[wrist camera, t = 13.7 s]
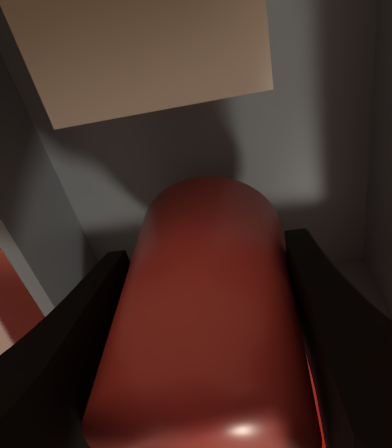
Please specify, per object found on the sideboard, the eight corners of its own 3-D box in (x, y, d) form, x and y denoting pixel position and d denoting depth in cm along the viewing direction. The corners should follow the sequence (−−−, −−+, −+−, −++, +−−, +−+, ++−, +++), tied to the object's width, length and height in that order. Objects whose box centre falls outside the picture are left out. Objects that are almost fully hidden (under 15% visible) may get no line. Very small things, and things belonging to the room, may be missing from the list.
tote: (370, 252, 17) (413, 340, 13) (106, 280, 20) (75, 363, 16) (412, -368, 8) (605, -717, 4) (-105, -172, 10) (-325, -259, 6)
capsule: (242, 299, 15) (250, 503, 10) (126, 260, 14) (62, 460, 9) (309, 209, 12) (376, 425, 7) (169, 153, 12) (115, 348, 6)
